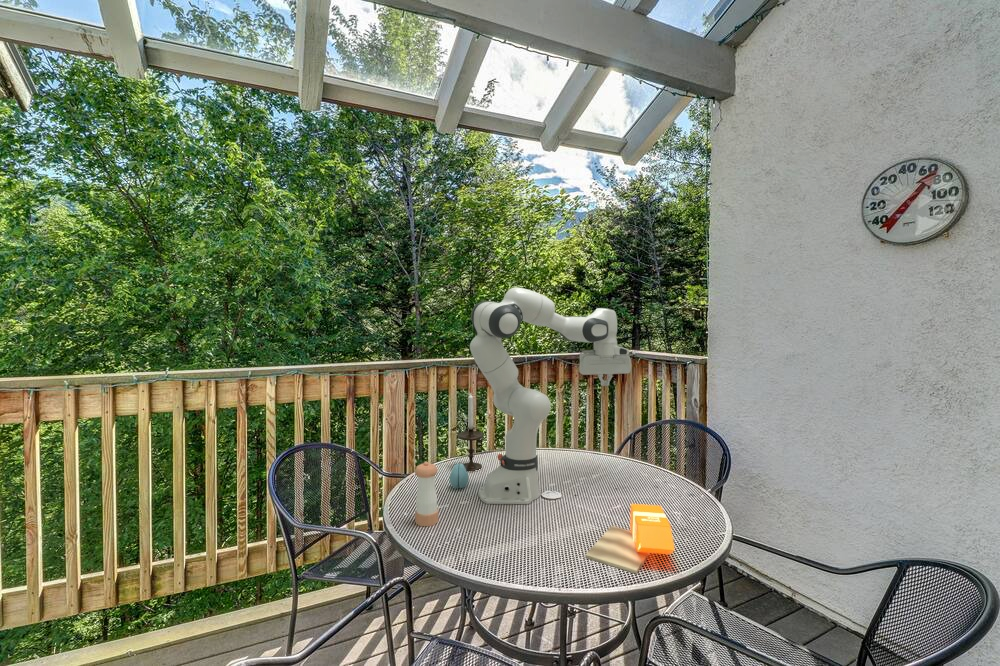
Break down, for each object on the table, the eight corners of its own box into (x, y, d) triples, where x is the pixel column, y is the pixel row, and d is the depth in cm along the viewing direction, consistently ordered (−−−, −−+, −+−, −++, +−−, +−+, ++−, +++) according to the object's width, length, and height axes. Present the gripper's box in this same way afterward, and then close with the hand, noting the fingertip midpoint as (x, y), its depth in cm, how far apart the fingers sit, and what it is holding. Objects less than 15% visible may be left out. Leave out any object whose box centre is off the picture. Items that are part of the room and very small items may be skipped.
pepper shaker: (431, 528, 144) (430, 467, 143) (410, 524, 147) (409, 464, 146) (442, 518, 151) (441, 459, 150) (422, 514, 154) (421, 457, 153)
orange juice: (630, 503, 142) (640, 532, 122) (660, 505, 141) (675, 535, 121) (630, 528, 142) (639, 562, 123) (660, 531, 141) (675, 565, 121)
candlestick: (481, 473, 191) (480, 388, 189) (455, 471, 193) (454, 387, 191) (486, 464, 202) (485, 383, 200) (461, 463, 204) (461, 383, 202)
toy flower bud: (469, 458, 185) (468, 466, 173) (469, 481, 185) (468, 491, 173) (451, 458, 185) (448, 467, 173) (451, 481, 185) (448, 491, 172)
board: (636, 573, 120) (636, 570, 120) (585, 557, 127) (585, 554, 127) (658, 540, 136) (658, 538, 136) (611, 528, 144) (611, 525, 144)
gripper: (582, 351, 176) (582, 387, 177) (633, 350, 180) (633, 386, 181) (576, 349, 183) (576, 385, 183) (626, 348, 186) (625, 383, 187)
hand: (604, 385), depth 182 cm, fingers closed
